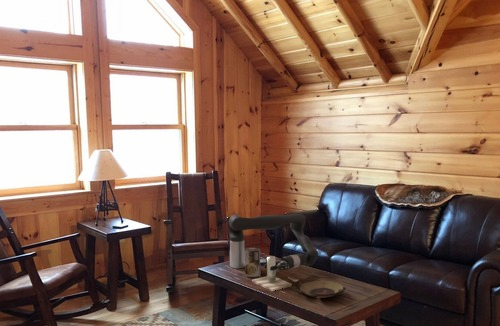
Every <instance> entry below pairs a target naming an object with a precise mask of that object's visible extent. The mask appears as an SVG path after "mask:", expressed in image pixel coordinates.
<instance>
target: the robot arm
mask: <svg viewBox="0 0 500 326" xmlns="http://www.w3.org/2000/svg"><path fill="white" fill-rule="evenodd" d="M306 218H307V217H306V216H305V215H304V214H300V213H292V214H291V213H290V214H282V215H281V214H280V215H272V214H271V215H259V216H256V217H243V216H240V215H238V214H233V215H231V216H230V217H229V219H228V235H229V266H230V268H232V269H242V268H245V235H244V231H247V230H258V231H259V230H263V231H264V230H267V231H268V230H277V229H278V228H280V227H283V226H284V225H287V224H289V227H290V229H291V231H292V232H293V234H294V236H295V237H296V239H297V240H298V242H299V246H300V248H301V250H302V251H303V253H301V252H300V253H297V254H290V255H287V256H283V257H281V258H280V259H278V260H276V266H271V267H270V270H271V271H273V270H276V271H287V270H291V269H295V268H297V267H301V266H308V267H311V266H314V265H315V263H316V261H317V260H318V257H319V250H317V248H316V247H315V246H314V245H313V243H312V241H311V239H310V237H309V236H308V235H306V234H304V227H305V224H306ZM263 267H264V269H267V263H265V264H264V266H263Z"/></svg>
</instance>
